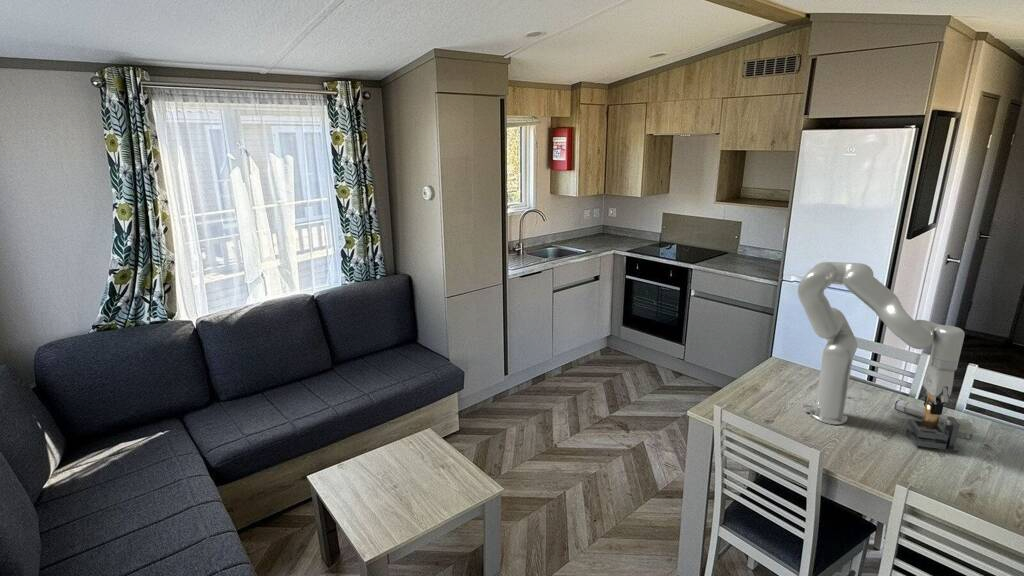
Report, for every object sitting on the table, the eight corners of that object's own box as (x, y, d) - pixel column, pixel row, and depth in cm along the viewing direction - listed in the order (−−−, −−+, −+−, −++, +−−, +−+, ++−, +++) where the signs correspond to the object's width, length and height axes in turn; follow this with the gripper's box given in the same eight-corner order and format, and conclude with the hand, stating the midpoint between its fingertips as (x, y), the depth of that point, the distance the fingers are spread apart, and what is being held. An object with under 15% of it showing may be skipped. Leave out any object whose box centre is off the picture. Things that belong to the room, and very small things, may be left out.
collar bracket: (905, 434, 195) (910, 409, 192) (947, 439, 191) (953, 414, 188) (914, 447, 187) (920, 422, 184) (958, 453, 183) (965, 427, 180)
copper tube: (924, 428, 186) (932, 392, 182) (919, 421, 190) (926, 386, 186) (939, 430, 185) (947, 393, 181) (933, 423, 189) (942, 387, 185)
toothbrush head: (901, 398, 213) (978, 419, 191) (900, 414, 214) (977, 436, 192) (893, 401, 210) (971, 423, 188) (892, 417, 211) (969, 440, 189)
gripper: (920, 351, 189) (910, 397, 195) (940, 371, 174) (929, 421, 179) (945, 353, 187) (935, 400, 193) (968, 374, 172) (956, 424, 177)
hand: (932, 409), depth 186 cm, fingers closed on copper tube, 4 cm apart
